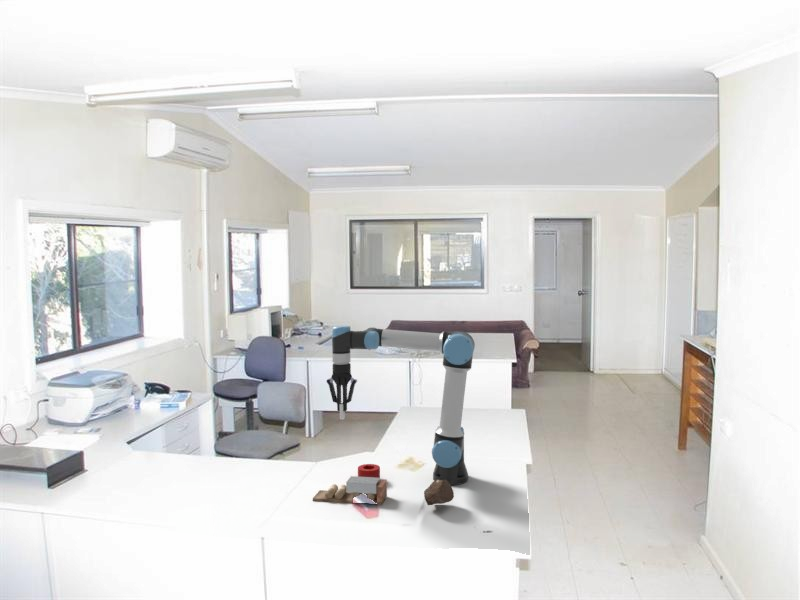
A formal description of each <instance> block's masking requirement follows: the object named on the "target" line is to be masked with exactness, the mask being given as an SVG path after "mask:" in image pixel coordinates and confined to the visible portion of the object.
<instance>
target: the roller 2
mask: <svg viewBox="0 0 800 600" xmlns="http://www.w3.org/2000/svg"><path fill="white" fill-rule="evenodd" d="M360 494H362V493H353V494H352V499H353V498H354V497H356V496H359V495H360Z"/></svg>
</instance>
